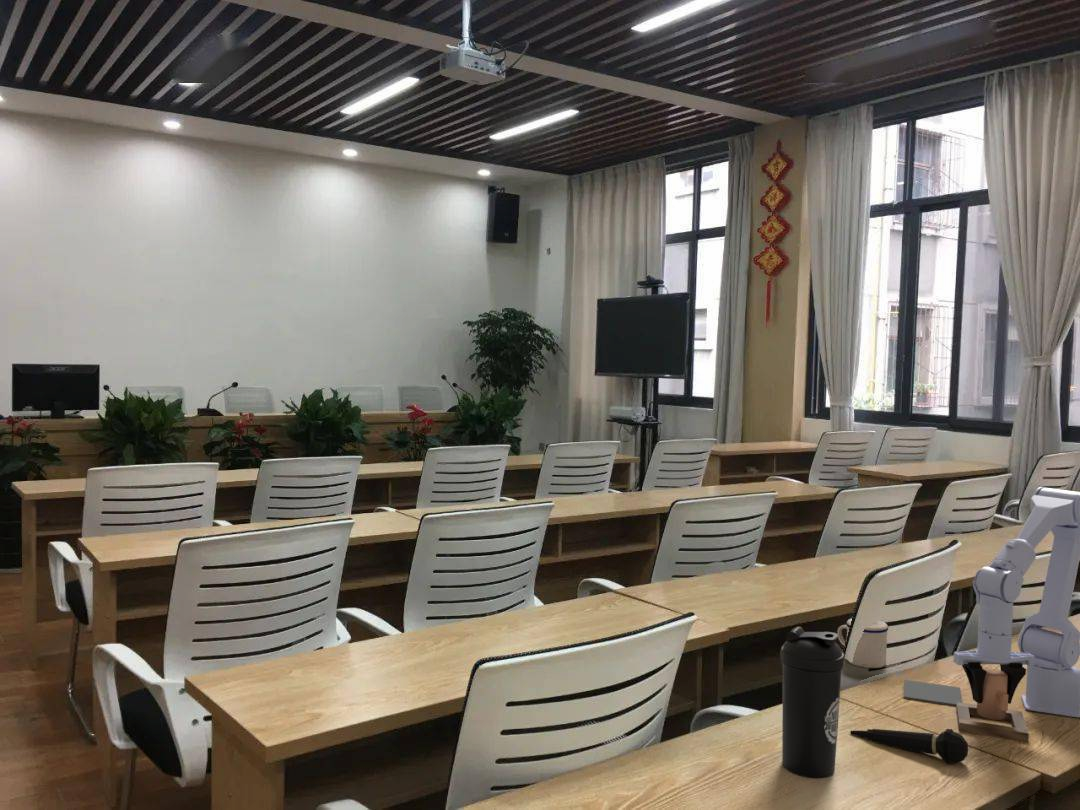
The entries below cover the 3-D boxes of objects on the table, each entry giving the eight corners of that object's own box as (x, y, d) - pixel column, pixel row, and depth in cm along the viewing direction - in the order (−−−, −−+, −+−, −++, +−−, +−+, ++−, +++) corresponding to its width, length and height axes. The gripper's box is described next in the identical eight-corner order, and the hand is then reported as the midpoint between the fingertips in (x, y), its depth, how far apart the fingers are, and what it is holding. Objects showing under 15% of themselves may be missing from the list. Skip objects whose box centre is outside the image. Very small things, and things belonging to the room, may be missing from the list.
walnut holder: (1021, 719, 174) (1021, 711, 174) (1028, 741, 163) (1028, 733, 163) (956, 709, 178) (956, 701, 178) (958, 730, 168) (959, 722, 168)
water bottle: (831, 786, 144) (836, 645, 143) (769, 770, 149) (773, 633, 148) (846, 763, 153) (851, 630, 152) (787, 748, 158) (791, 619, 157)
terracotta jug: (969, 707, 174) (971, 667, 174) (995, 707, 174) (996, 667, 174) (991, 723, 166) (993, 681, 166) (1017, 724, 166) (1019, 681, 166)
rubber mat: (960, 689, 190) (960, 687, 190) (962, 707, 180) (962, 705, 180) (904, 681, 194) (904, 679, 194) (903, 698, 184) (903, 696, 184)
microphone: (849, 754, 164) (967, 773, 151) (843, 727, 163) (961, 744, 150) (858, 736, 168) (973, 753, 155) (852, 710, 167) (968, 724, 154)
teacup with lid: (894, 664, 205) (896, 613, 205) (872, 671, 200) (874, 620, 199) (848, 650, 215) (850, 602, 214) (826, 657, 209) (827, 607, 209)
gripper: (1020, 625, 174) (1017, 694, 175) (947, 624, 174) (944, 693, 175) (1041, 636, 167) (1038, 708, 168) (965, 635, 167) (961, 707, 167)
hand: (991, 701), depth 171 cm, fingers closed on terracotta jug, 5 cm apart
